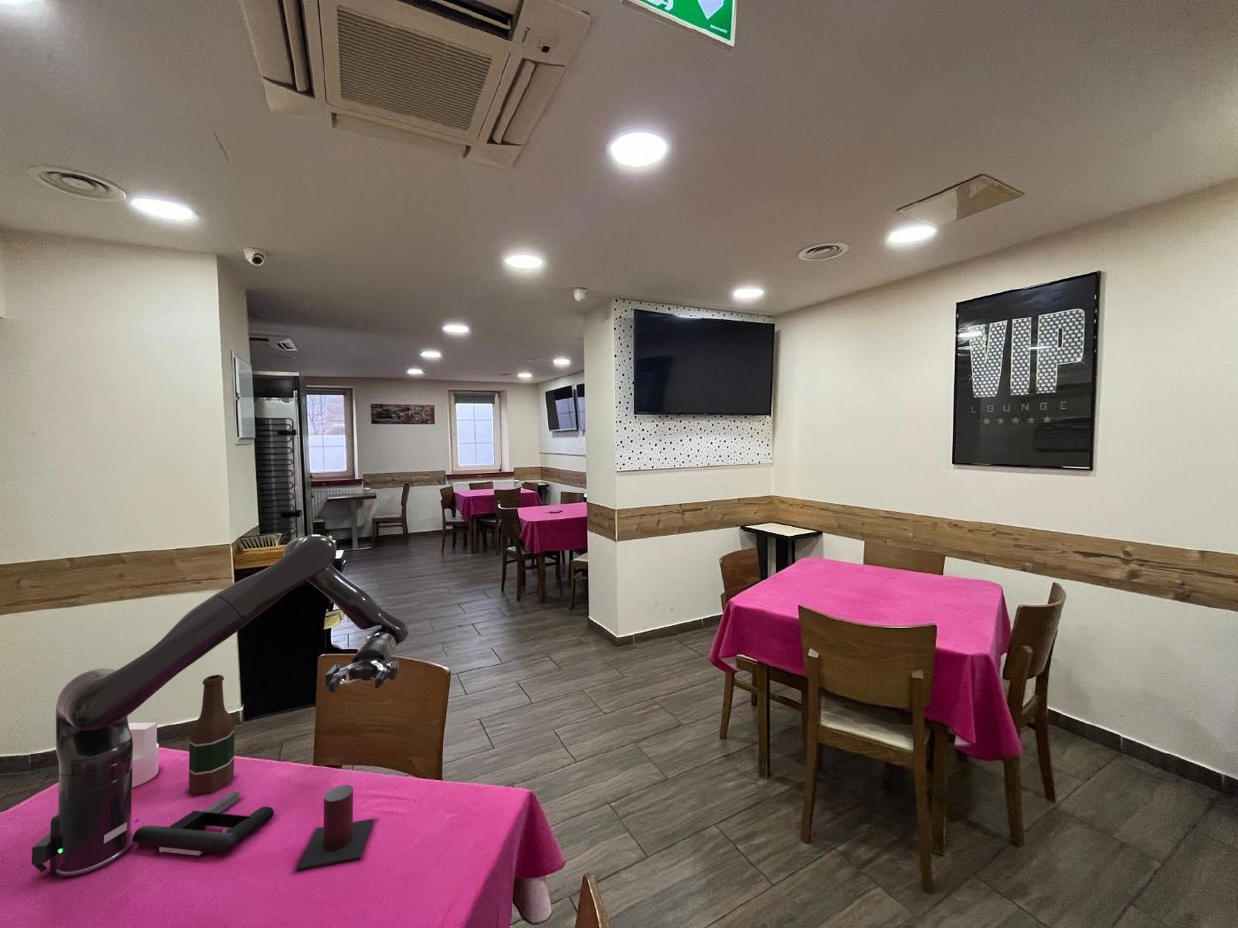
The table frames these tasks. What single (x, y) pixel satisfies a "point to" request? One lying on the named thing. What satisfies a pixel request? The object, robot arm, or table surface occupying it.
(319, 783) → the table surface
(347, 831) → the dark brown cylinder
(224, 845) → the door handle
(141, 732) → the base with upright slab
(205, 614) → the robot arm
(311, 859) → the black mat
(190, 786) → the beer bottle
